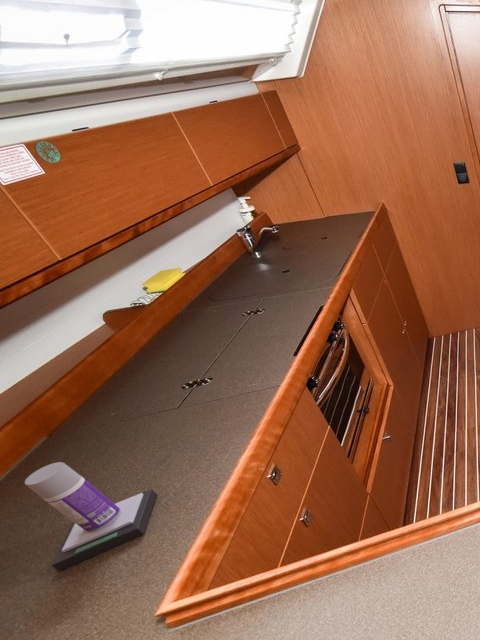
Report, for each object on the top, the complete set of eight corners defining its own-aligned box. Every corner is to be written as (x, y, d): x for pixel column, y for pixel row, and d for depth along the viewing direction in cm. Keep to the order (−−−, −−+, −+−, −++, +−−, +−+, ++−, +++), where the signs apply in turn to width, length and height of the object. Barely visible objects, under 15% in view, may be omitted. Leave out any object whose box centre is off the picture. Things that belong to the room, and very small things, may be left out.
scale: (59, 571, 74) (48, 564, 73) (81, 526, 81) (71, 518, 80) (144, 534, 79) (135, 526, 78) (158, 494, 86) (149, 487, 85)
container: (122, 503, 82) (67, 456, 74) (120, 519, 79) (62, 473, 72) (87, 519, 79) (26, 473, 72) (83, 537, 76) (19, 491, 69)
